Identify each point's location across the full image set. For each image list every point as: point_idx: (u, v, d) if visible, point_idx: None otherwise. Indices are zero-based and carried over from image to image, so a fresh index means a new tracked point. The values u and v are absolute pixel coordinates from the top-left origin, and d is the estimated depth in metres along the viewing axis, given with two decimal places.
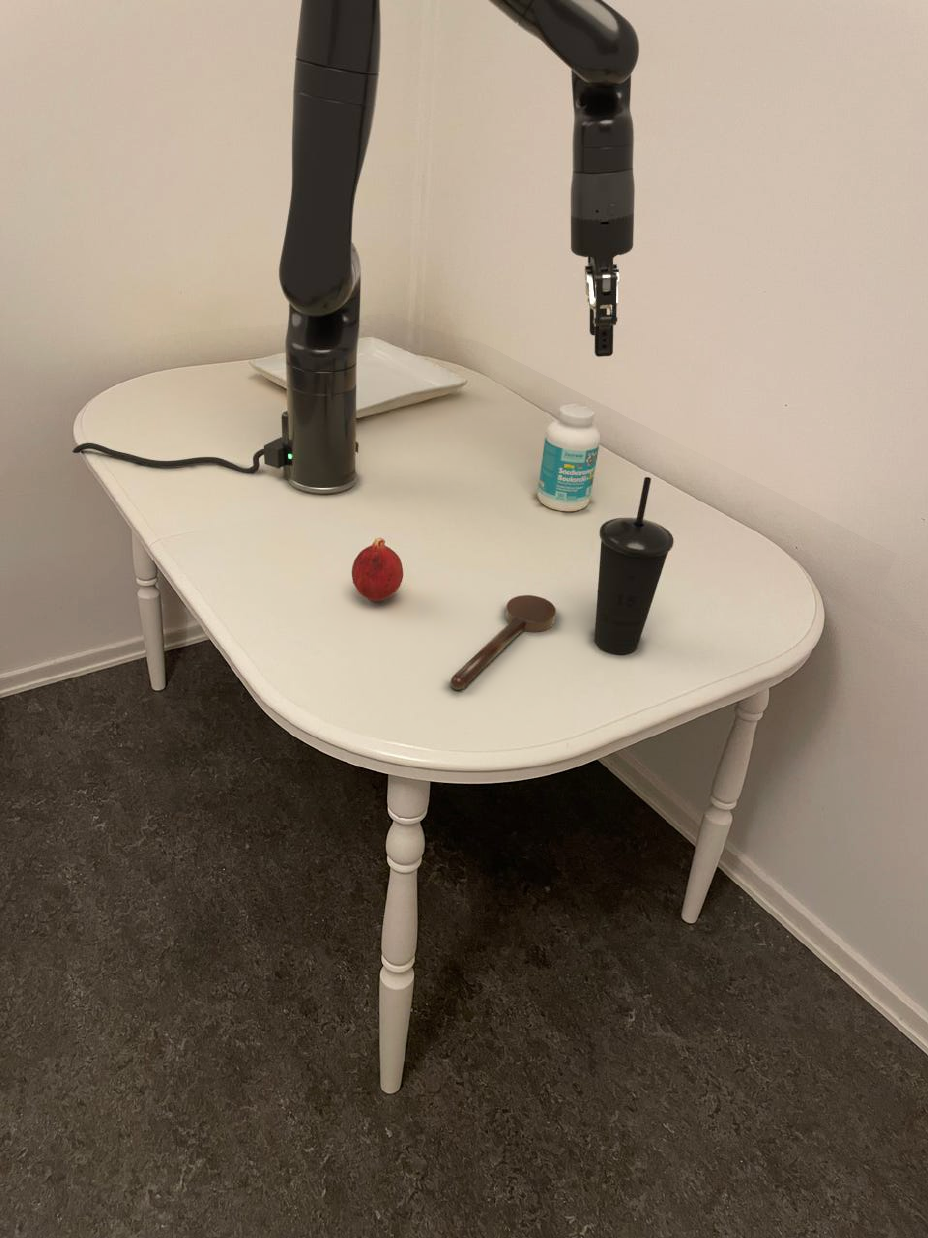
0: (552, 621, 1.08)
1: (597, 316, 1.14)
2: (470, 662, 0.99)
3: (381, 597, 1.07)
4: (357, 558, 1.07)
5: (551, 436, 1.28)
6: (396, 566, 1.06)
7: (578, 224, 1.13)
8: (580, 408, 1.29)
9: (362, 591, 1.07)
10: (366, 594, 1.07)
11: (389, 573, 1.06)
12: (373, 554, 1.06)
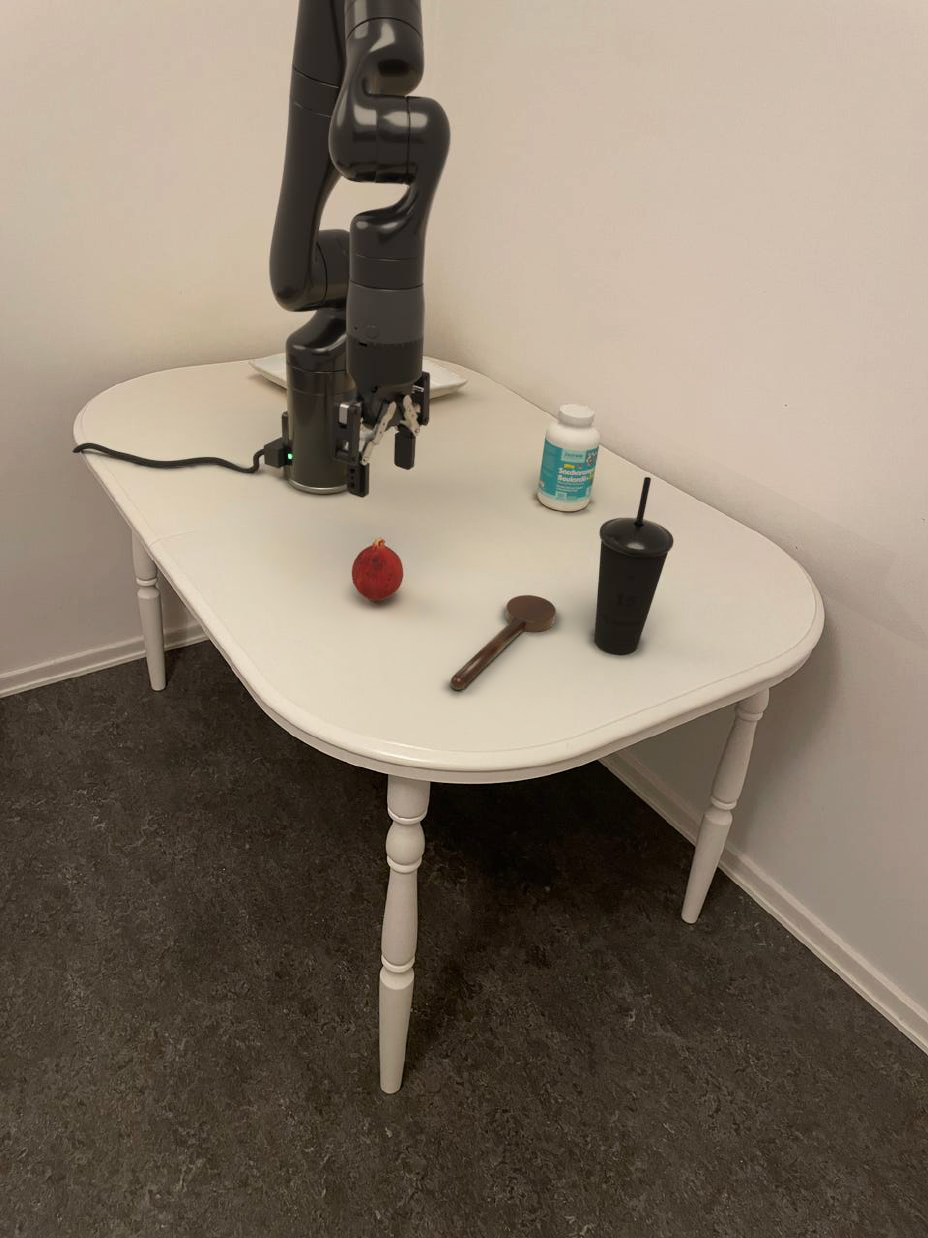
0: (552, 621, 1.08)
1: (333, 449, 0.94)
2: (470, 662, 0.99)
3: (381, 597, 1.07)
4: (357, 558, 1.07)
5: (551, 436, 1.28)
6: (396, 566, 1.06)
7: (346, 337, 0.93)
8: (580, 408, 1.29)
9: (362, 591, 1.07)
10: (366, 594, 1.07)
11: (389, 573, 1.06)
12: (373, 554, 1.06)
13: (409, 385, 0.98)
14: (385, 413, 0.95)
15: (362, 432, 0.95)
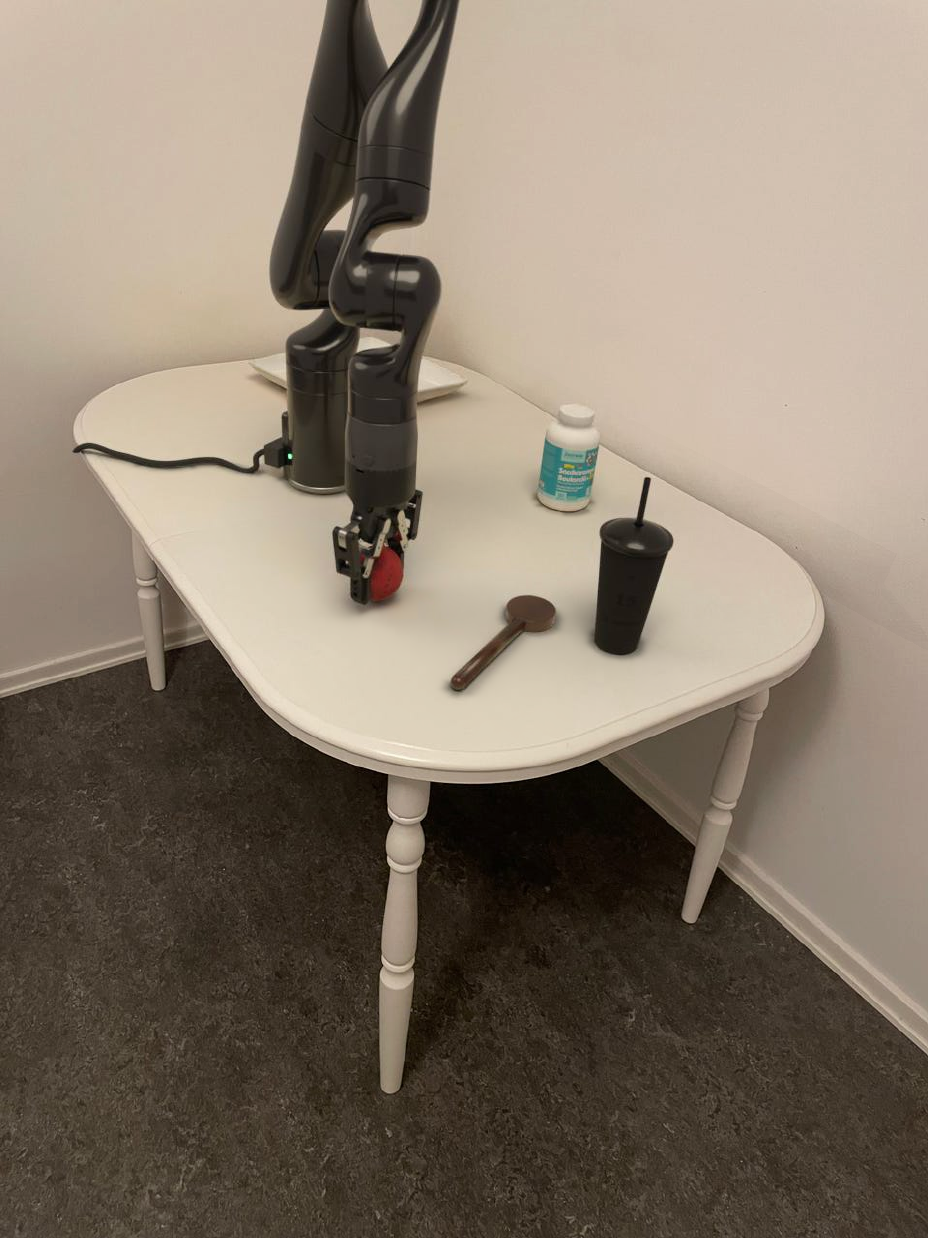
0: (552, 621, 1.08)
1: (337, 566, 1.02)
2: (470, 662, 0.99)
3: (381, 597, 1.07)
4: None
5: (551, 436, 1.28)
6: (396, 566, 1.06)
7: None
8: (580, 408, 1.29)
9: None
10: None
11: (389, 573, 1.06)
12: None
13: None
14: (381, 531, 1.02)
15: (362, 548, 1.03)
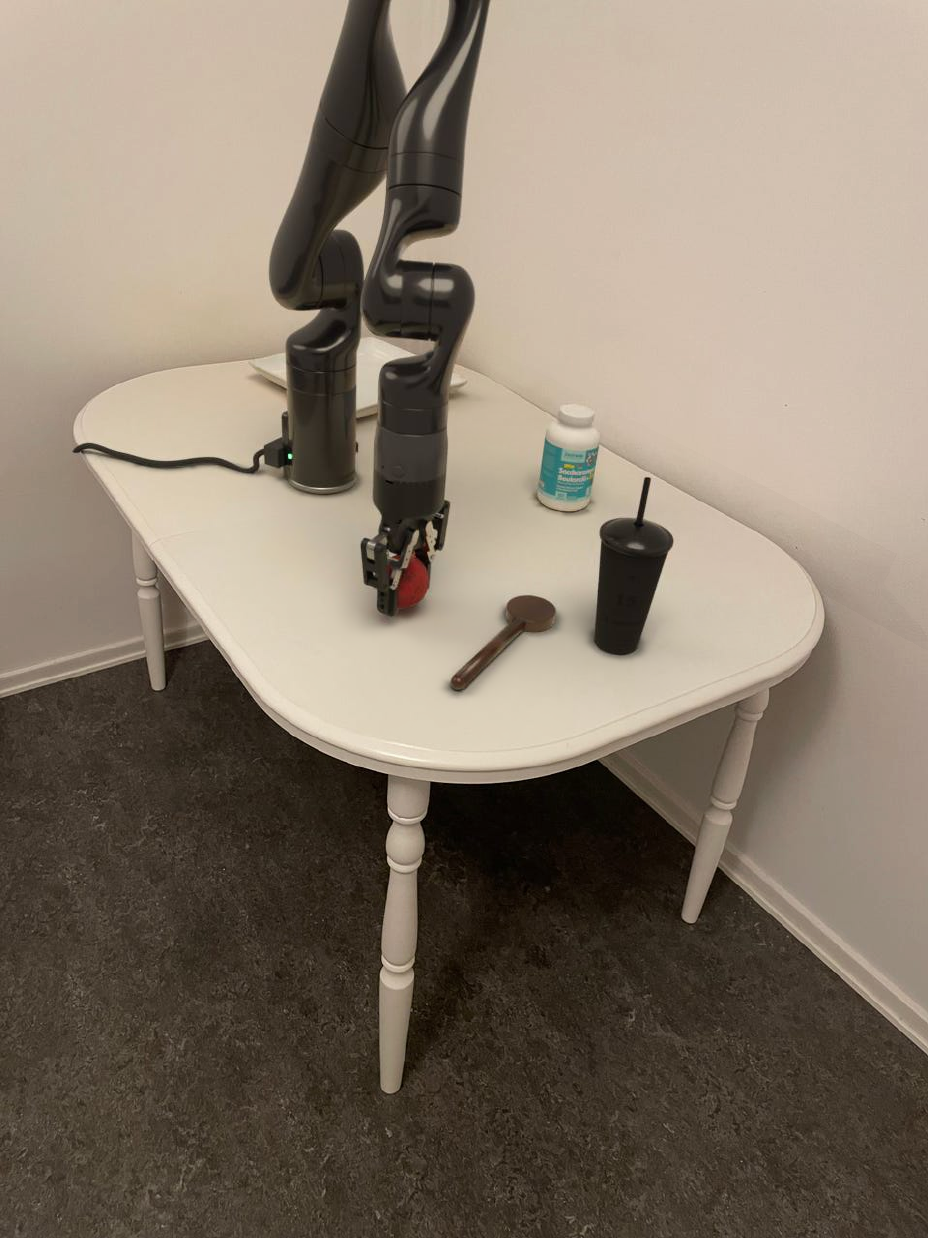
0: (552, 621, 1.08)
1: (364, 578, 1.01)
2: (470, 662, 0.99)
3: (404, 607, 1.06)
4: None
5: (551, 436, 1.28)
6: (423, 579, 1.05)
7: (373, 471, 0.99)
8: (580, 408, 1.29)
9: None
10: None
11: (416, 586, 1.04)
12: None
13: None
14: (409, 542, 1.01)
15: (389, 560, 1.02)
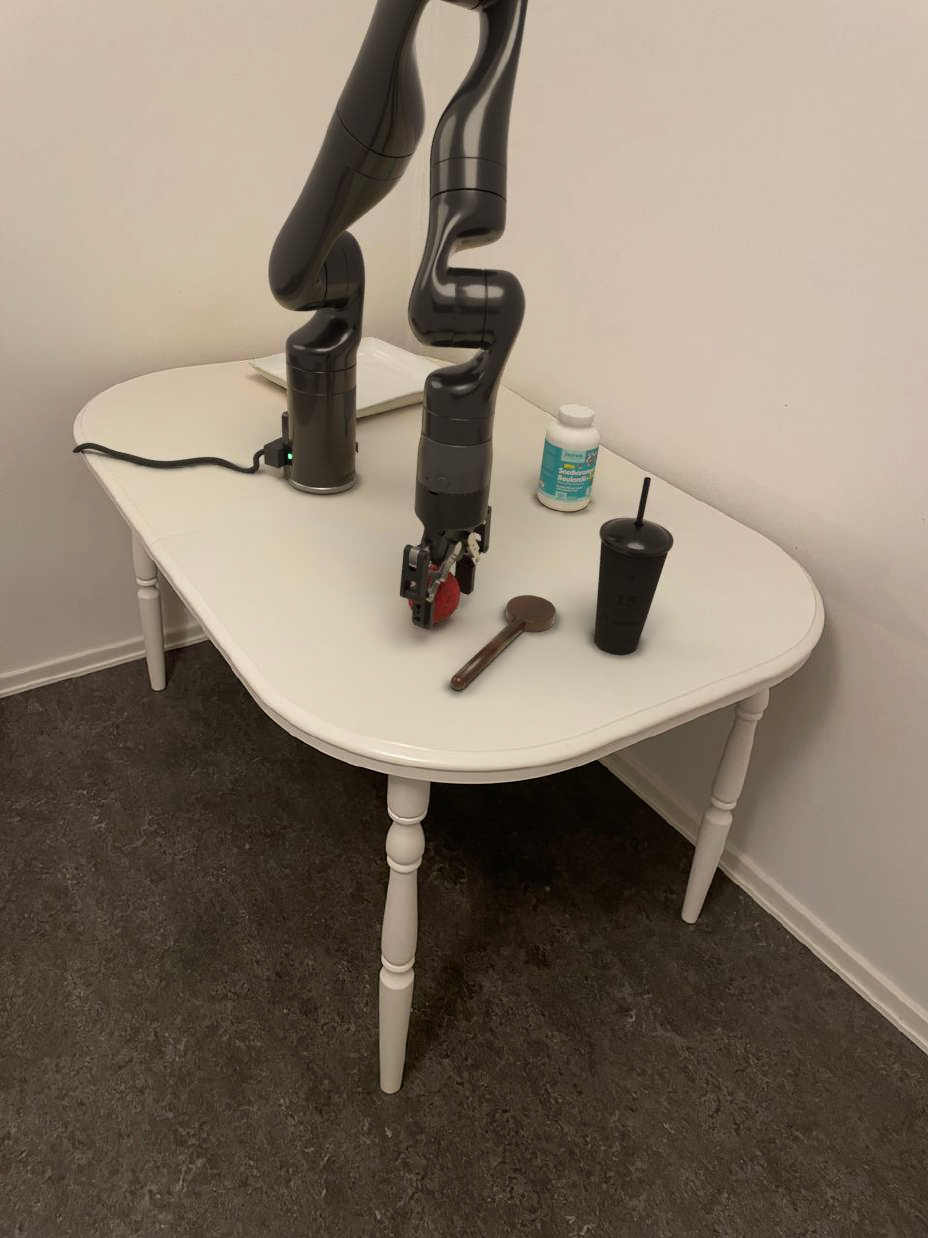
0: (552, 621, 1.08)
1: (401, 588, 0.97)
2: (470, 662, 0.99)
3: (438, 619, 1.05)
4: None
5: (551, 436, 1.28)
6: (454, 588, 1.04)
7: (416, 482, 0.96)
8: (580, 408, 1.29)
9: None
10: None
11: (448, 595, 1.03)
12: None
13: None
14: (451, 553, 0.98)
15: (429, 570, 0.99)
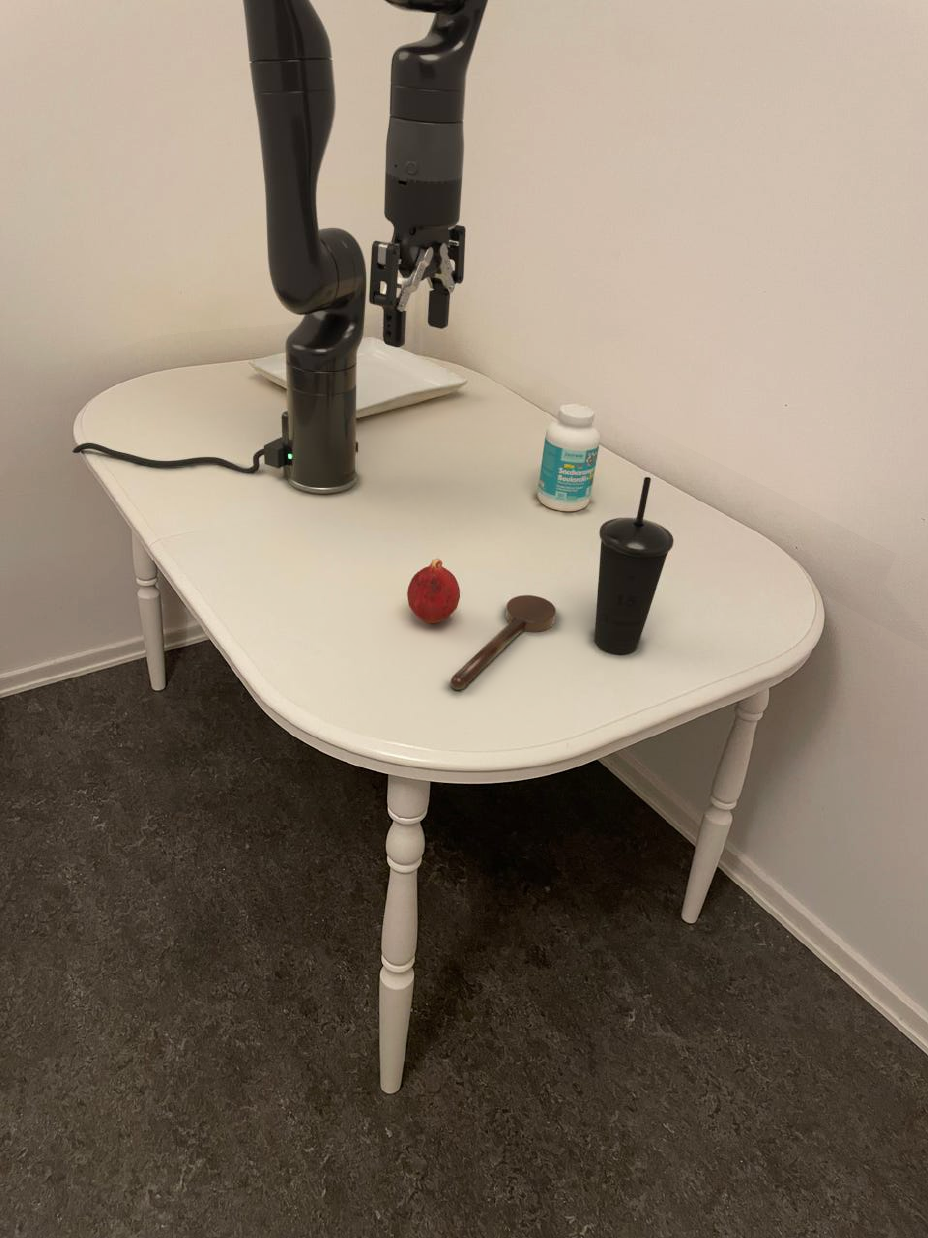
0: (552, 621, 1.08)
1: (370, 292, 0.94)
2: (470, 662, 0.99)
3: (438, 619, 1.05)
4: (413, 580, 1.04)
5: (551, 436, 1.28)
6: (454, 588, 1.04)
7: (385, 179, 0.93)
8: (580, 408, 1.29)
9: (419, 613, 1.04)
10: (423, 617, 1.04)
11: (447, 595, 1.03)
12: (431, 576, 1.03)
13: (445, 235, 0.99)
14: (422, 258, 0.95)
15: (399, 278, 0.96)
